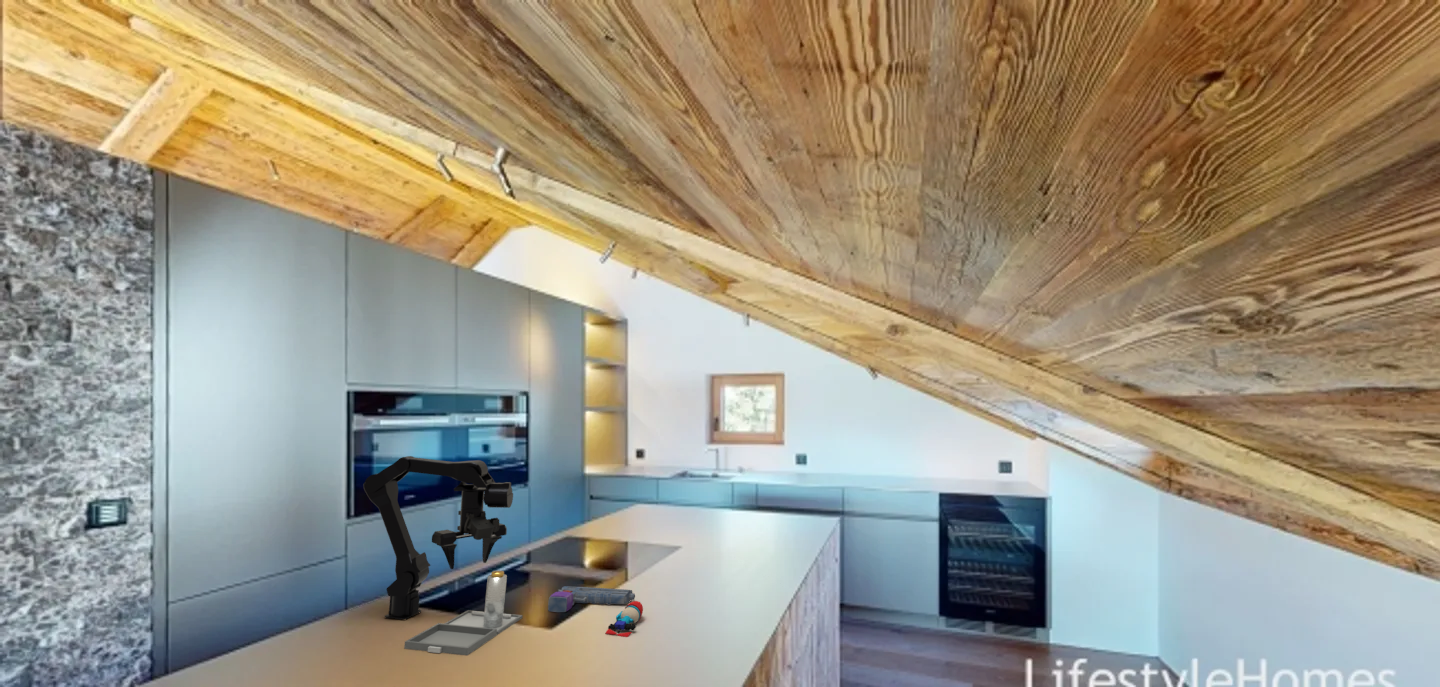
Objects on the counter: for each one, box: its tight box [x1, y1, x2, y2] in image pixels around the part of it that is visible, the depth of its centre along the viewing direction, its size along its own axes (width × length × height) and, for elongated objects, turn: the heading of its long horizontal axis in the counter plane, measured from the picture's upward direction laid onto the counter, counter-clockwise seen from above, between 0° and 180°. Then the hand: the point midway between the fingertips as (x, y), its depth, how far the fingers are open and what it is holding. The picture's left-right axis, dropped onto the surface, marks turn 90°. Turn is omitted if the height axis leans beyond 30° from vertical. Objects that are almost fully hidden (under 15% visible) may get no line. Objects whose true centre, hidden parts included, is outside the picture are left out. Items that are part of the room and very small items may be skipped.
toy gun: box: [547, 585, 636, 613], centre depth 172 cm, size 4×23×15 cm
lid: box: [443, 609, 523, 636], centre depth 153 cm, size 16×13×2 cm
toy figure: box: [605, 600, 644, 638], centre depth 156 cm, size 8×5×15 cm
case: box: [403, 622, 498, 656], centre depth 141 cm, size 16×13×2 cm
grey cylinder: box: [483, 570, 508, 628], centre depth 152 cm, size 5×5×13 cm
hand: (468, 565), depth 162 cm, fingers open, 9 cm apart
